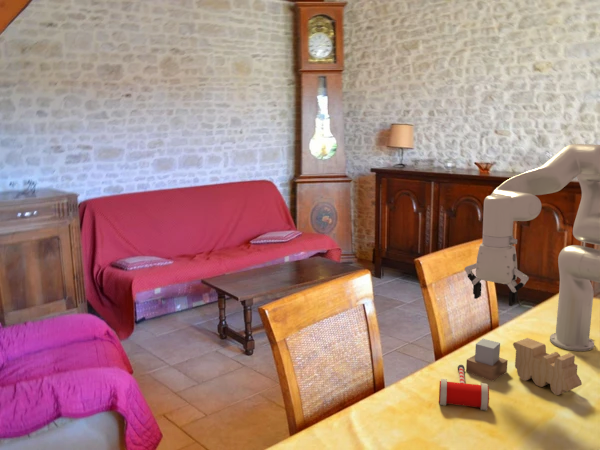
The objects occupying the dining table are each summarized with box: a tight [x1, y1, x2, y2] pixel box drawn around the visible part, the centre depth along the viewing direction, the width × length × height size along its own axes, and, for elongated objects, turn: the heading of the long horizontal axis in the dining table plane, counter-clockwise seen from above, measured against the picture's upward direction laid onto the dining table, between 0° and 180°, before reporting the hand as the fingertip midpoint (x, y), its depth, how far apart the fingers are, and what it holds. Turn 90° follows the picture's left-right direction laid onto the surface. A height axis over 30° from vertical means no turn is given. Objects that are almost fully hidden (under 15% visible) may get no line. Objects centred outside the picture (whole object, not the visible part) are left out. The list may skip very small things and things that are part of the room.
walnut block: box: [465, 354, 508, 382], centre depth 153 cm, size 8×8×4 cm
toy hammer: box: [438, 364, 490, 411], centre depth 143 cm, size 23×12×6 cm, turn 165°
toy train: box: [512, 337, 582, 396], centre depth 145 cm, size 6×17×10 cm, turn 32°
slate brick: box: [474, 338, 501, 366], centre depth 152 cm, size 5×5×5 cm
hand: (494, 300), depth 149 cm, fingers open, 9 cm apart
